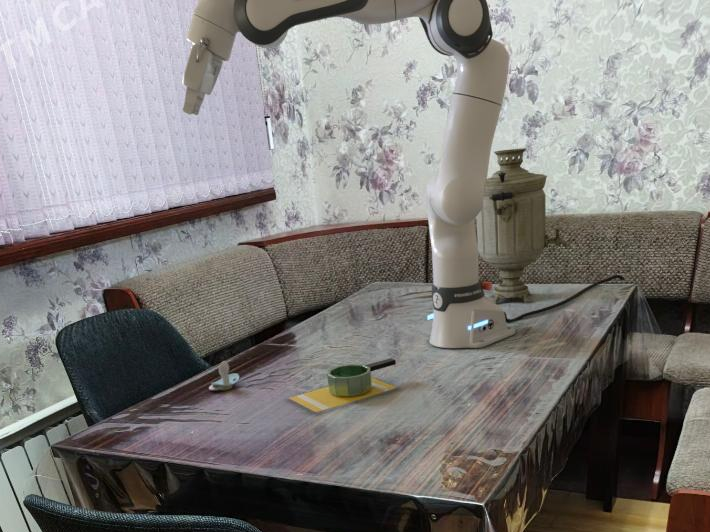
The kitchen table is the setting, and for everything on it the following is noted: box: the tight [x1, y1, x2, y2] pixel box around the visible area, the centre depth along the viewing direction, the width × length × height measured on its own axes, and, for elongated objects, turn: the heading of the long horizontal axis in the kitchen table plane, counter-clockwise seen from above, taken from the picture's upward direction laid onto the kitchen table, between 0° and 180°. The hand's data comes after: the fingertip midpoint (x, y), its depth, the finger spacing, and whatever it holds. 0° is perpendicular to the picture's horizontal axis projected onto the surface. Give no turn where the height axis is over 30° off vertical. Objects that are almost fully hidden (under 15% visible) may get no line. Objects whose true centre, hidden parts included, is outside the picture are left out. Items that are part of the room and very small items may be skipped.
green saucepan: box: [326, 357, 397, 397], centre depth 152 cm, size 16×9×4 cm, turn 124°
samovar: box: [476, 147, 569, 305], centre depth 202 cm, size 30×26×40 cm
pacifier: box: [208, 360, 240, 392], centre depth 160 cm, size 7×6×6 cm
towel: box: [288, 376, 398, 413], centre depth 151 cm, size 20×12×1 cm, turn 124°
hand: (190, 113), depth 150 cm, fingers open, 8 cm apart
